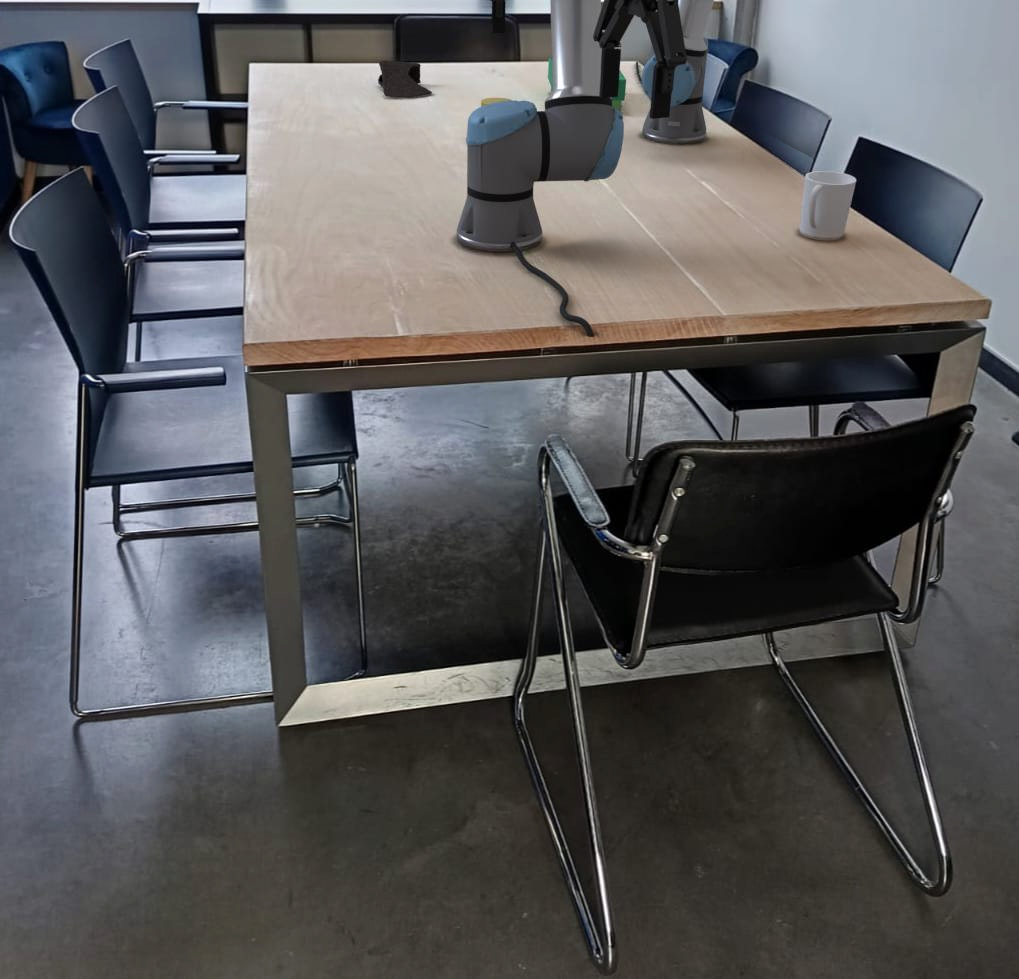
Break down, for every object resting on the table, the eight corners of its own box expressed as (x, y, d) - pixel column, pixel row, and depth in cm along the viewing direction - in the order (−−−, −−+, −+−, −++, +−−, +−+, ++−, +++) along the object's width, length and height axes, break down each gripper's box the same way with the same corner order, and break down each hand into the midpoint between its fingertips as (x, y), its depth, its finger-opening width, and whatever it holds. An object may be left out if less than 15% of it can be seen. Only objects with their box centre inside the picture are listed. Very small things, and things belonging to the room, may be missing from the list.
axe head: (443, 87, 294) (392, 77, 287) (436, 115, 299) (385, 106, 292) (421, 62, 307) (371, 52, 300) (414, 89, 311) (365, 80, 304)
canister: (514, 131, 264) (515, 98, 260) (510, 139, 258) (511, 105, 254) (483, 130, 265) (483, 96, 261) (478, 137, 258) (478, 103, 254)
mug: (809, 222, 208) (818, 168, 202) (854, 233, 203) (864, 177, 197) (782, 236, 200) (791, 180, 195) (827, 247, 195) (838, 190, 190)
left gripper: (726, -53, 135) (706, 124, 146) (621, -71, 154) (610, 87, 165) (674, -51, 132) (658, 129, 143) (574, -70, 151) (567, 91, 162)
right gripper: (481, -82, 248) (481, 18, 259) (482, -73, 227) (482, 36, 238) (514, -82, 248) (512, 19, 260) (519, -72, 227) (516, 37, 238)
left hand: (633, 107), depth 154 cm, fingers open, 13 cm apart
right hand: (498, 27), depth 249 cm, fingers open, 13 cm apart
